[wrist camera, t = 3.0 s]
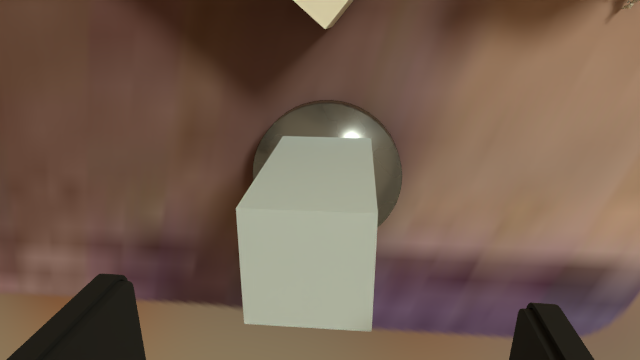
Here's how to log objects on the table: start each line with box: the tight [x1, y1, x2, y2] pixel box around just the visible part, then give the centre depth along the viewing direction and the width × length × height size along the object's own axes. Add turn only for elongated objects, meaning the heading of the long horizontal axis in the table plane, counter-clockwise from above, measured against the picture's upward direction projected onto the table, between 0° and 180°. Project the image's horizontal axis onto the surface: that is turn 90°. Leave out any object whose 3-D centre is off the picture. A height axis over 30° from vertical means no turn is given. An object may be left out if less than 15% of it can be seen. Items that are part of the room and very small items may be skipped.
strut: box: [236, 136, 378, 331], centre depth 16 cm, size 4×4×8 cm
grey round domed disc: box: [253, 100, 402, 227], centre depth 21 cm, size 7×7×1 cm
